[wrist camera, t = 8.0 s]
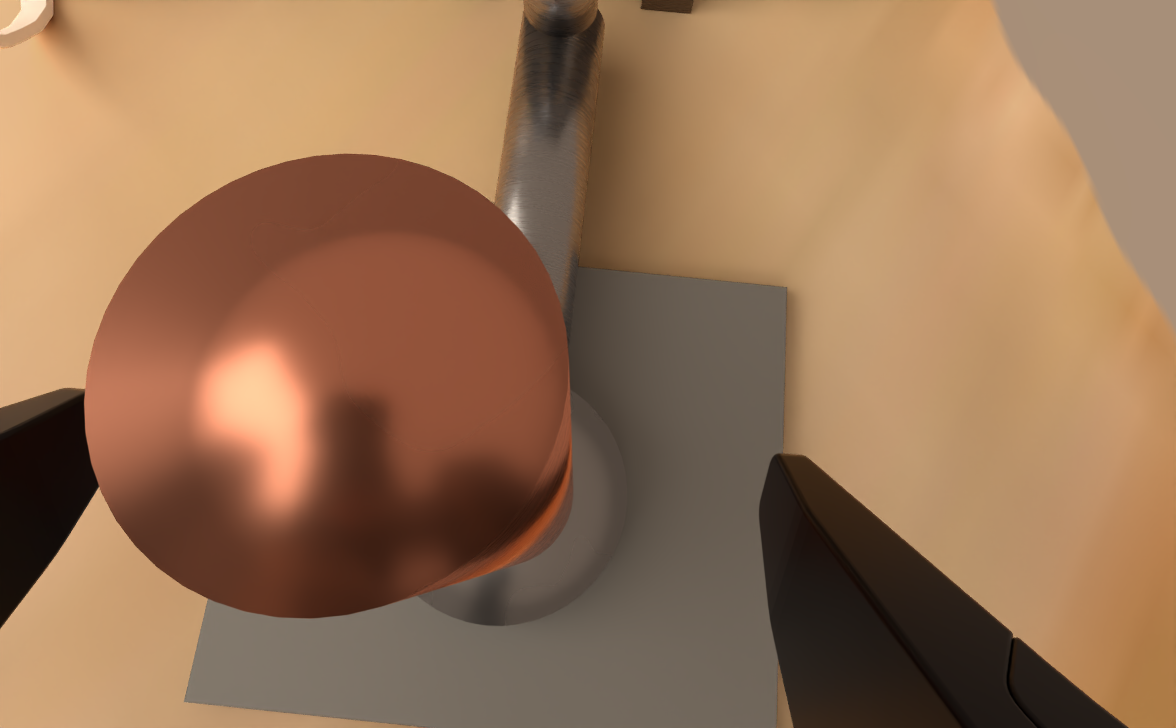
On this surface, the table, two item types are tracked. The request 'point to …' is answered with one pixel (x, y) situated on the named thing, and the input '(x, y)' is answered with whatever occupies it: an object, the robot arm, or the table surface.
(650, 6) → the brown square arch
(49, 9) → the cup
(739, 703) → the mat
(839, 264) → the table surface
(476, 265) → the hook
